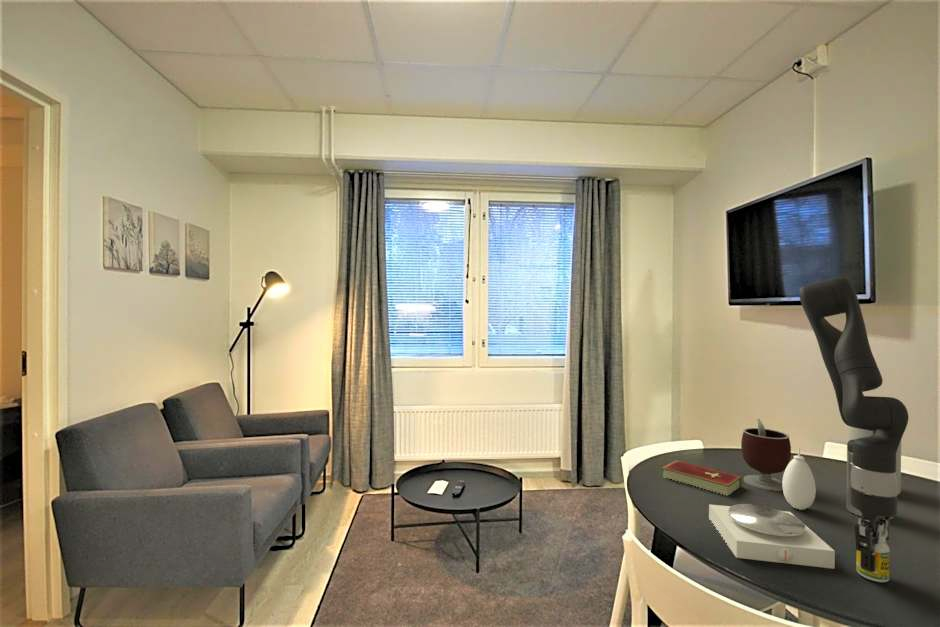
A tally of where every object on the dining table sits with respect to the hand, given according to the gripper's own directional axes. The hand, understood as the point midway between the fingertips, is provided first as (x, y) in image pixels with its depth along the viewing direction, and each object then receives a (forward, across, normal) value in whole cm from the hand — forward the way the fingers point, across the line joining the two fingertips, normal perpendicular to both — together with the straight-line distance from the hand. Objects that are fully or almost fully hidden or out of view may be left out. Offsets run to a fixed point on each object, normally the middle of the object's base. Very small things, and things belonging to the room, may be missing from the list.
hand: (872, 565), depth 96 cm
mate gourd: (+3, -40, -38) cm, 55 cm away
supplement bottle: (+3, 0, 0) cm, 3 cm away
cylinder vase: (+3, -64, -16) cm, 66 cm away
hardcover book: (+3, -21, -50) cm, 54 cm away
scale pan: (-2, +3, -20) cm, 20 cm away
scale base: (+3, +3, -20) cm, 20 cm away
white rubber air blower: (+3, -26, -23) cm, 35 cm away
